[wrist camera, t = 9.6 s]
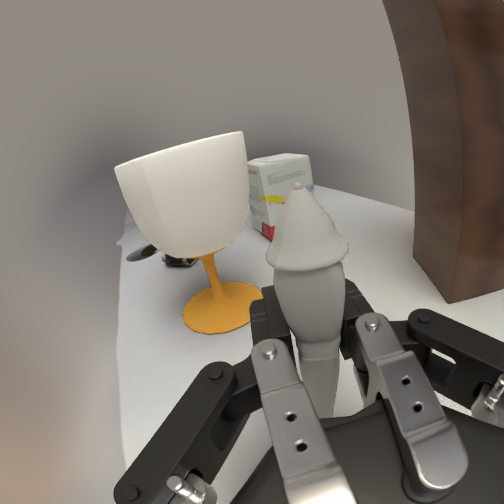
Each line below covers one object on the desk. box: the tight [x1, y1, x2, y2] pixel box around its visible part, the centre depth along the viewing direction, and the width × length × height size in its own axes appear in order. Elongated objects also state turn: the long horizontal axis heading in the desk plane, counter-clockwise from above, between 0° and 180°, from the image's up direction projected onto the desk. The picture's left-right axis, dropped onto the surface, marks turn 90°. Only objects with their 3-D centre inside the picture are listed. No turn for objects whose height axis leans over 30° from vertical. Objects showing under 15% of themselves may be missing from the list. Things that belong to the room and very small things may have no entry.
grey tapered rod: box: [265, 183, 348, 419], centre depth 11 cm, size 2×3×14 cm
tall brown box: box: [382, 0, 504, 304], centre depth 18 cm, size 10×10×35 cm
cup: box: [114, 131, 263, 334], centre depth 27 cm, size 12×12×17 cm
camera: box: [162, 254, 198, 265], centre depth 44 cm, size 5×10×4 cm, turn 161°
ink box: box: [247, 153, 315, 241], centre depth 44 cm, size 9×9×12 cm
